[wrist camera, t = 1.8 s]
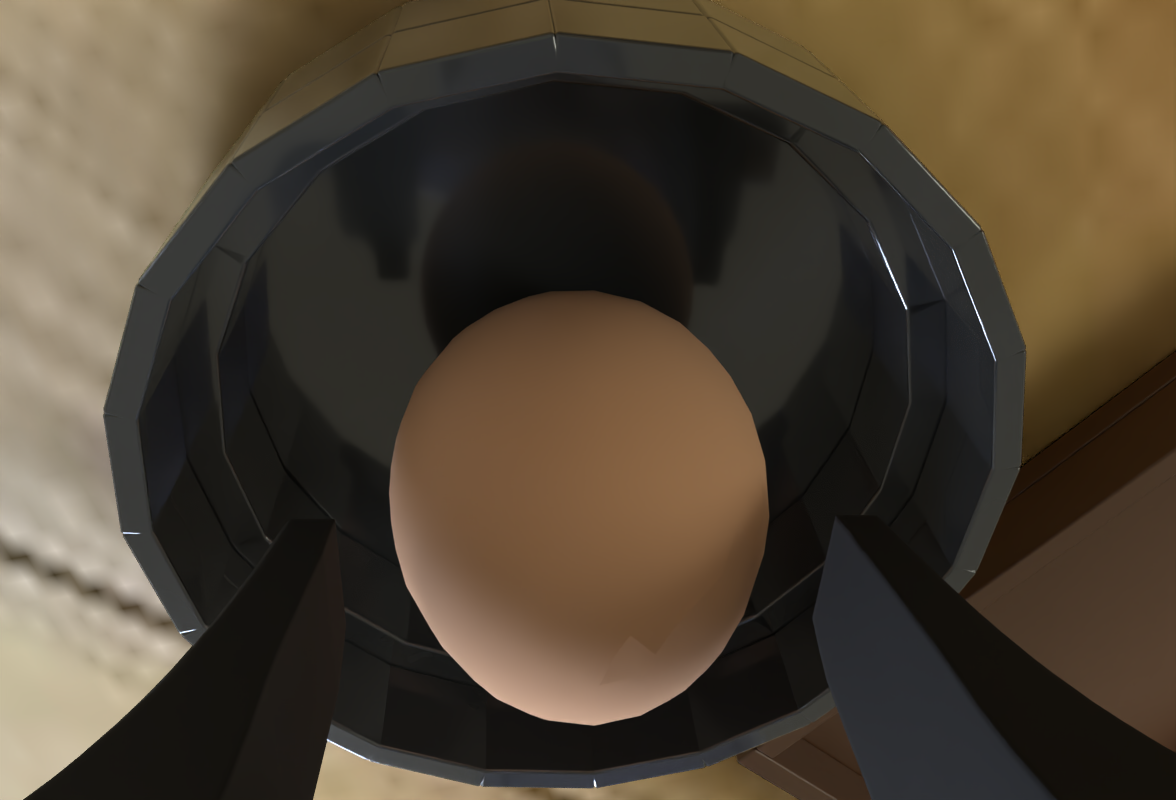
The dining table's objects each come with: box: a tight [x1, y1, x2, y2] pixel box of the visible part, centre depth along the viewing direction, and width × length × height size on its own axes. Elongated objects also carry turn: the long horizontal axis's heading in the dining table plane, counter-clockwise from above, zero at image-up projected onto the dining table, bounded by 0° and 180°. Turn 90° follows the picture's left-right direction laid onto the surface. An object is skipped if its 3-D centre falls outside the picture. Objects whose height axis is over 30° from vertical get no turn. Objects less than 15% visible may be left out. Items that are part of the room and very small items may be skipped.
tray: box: [736, 351, 1176, 800], centre depth 24 cm, size 16×12×2 cm
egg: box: [389, 290, 769, 726], centre depth 16 cm, size 6×6×8 cm
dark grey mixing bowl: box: [103, 0, 1026, 788], centre depth 18 cm, size 14×14×4 cm
